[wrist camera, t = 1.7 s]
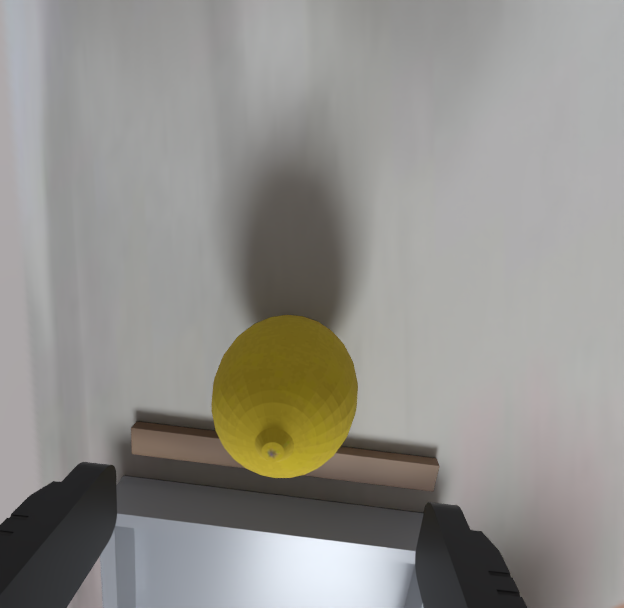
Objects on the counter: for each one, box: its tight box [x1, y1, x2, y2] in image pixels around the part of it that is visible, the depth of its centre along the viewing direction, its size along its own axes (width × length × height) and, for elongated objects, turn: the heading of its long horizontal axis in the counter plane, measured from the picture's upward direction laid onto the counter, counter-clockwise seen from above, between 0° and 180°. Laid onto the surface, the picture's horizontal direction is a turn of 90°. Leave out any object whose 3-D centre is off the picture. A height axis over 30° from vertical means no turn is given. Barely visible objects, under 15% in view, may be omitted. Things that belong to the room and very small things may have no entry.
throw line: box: [131, 421, 439, 492], centre depth 20 cm, size 2×16×1 cm, turn 84°
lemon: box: [212, 315, 358, 478], centre depth 15 cm, size 6×6×8 cm
